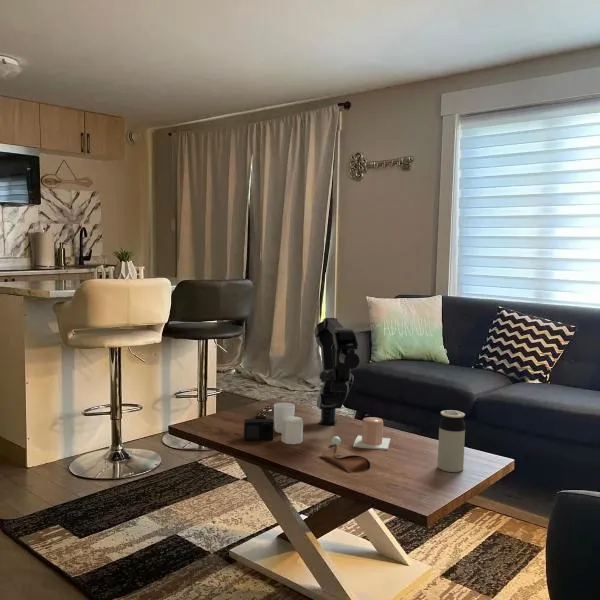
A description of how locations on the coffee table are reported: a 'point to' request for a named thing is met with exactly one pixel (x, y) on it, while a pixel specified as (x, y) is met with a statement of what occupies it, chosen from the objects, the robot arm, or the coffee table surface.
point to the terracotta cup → (372, 431)
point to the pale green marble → (336, 440)
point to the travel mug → (451, 441)
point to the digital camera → (258, 429)
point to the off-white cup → (292, 430)
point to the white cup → (282, 414)
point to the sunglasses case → (345, 459)
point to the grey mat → (382, 446)
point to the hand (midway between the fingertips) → (341, 404)
